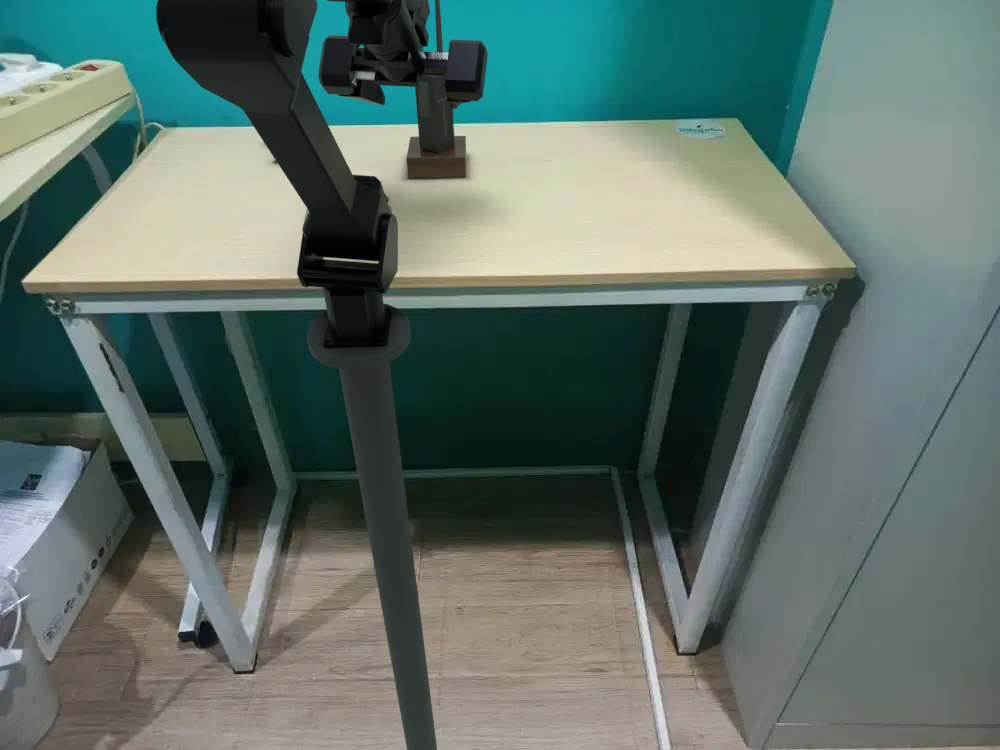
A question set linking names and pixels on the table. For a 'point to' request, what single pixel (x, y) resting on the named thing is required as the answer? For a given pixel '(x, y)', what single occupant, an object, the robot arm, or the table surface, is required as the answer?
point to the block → (437, 160)
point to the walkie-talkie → (434, 105)
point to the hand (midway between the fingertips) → (419, 103)
